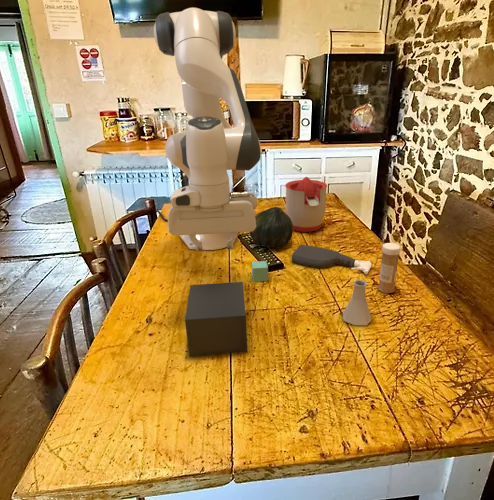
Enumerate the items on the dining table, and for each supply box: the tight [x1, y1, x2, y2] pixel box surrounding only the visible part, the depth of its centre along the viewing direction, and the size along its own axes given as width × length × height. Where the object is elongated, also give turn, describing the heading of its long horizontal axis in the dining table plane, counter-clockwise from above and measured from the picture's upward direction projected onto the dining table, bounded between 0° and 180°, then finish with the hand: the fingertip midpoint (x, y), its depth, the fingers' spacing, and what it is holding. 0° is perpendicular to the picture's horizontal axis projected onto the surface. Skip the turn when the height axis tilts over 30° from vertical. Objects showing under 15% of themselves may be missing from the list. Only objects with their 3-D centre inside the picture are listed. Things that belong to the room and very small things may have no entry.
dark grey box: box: [184, 281, 249, 358], centre depth 91 cm, size 15×13×10 cm
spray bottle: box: [291, 244, 372, 275], centre depth 125 cm, size 3×11×24 cm
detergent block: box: [251, 260, 269, 283], centre depth 117 cm, size 4×4×4 cm
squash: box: [249, 206, 294, 249], centre depth 137 cm, size 14×15×15 cm
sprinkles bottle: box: [377, 242, 401, 294], centre depth 107 cm, size 5×5×13 cm
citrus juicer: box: [284, 176, 328, 233], centre depth 150 cm, size 16×17×20 cm
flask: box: [342, 279, 373, 326], centre depth 96 cm, size 7×7×10 cm
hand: (214, 249), depth 95 cm, fingers open, 6 cm apart
